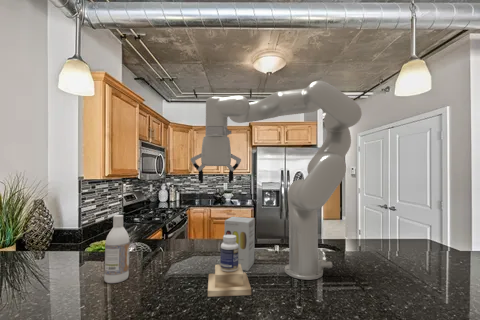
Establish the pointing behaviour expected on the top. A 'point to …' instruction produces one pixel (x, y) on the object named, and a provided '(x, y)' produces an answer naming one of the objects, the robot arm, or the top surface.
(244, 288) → the plinth
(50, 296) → the top surface
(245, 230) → the supplement box
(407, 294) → the top surface
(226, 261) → the pill bottle
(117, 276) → the bath foam
